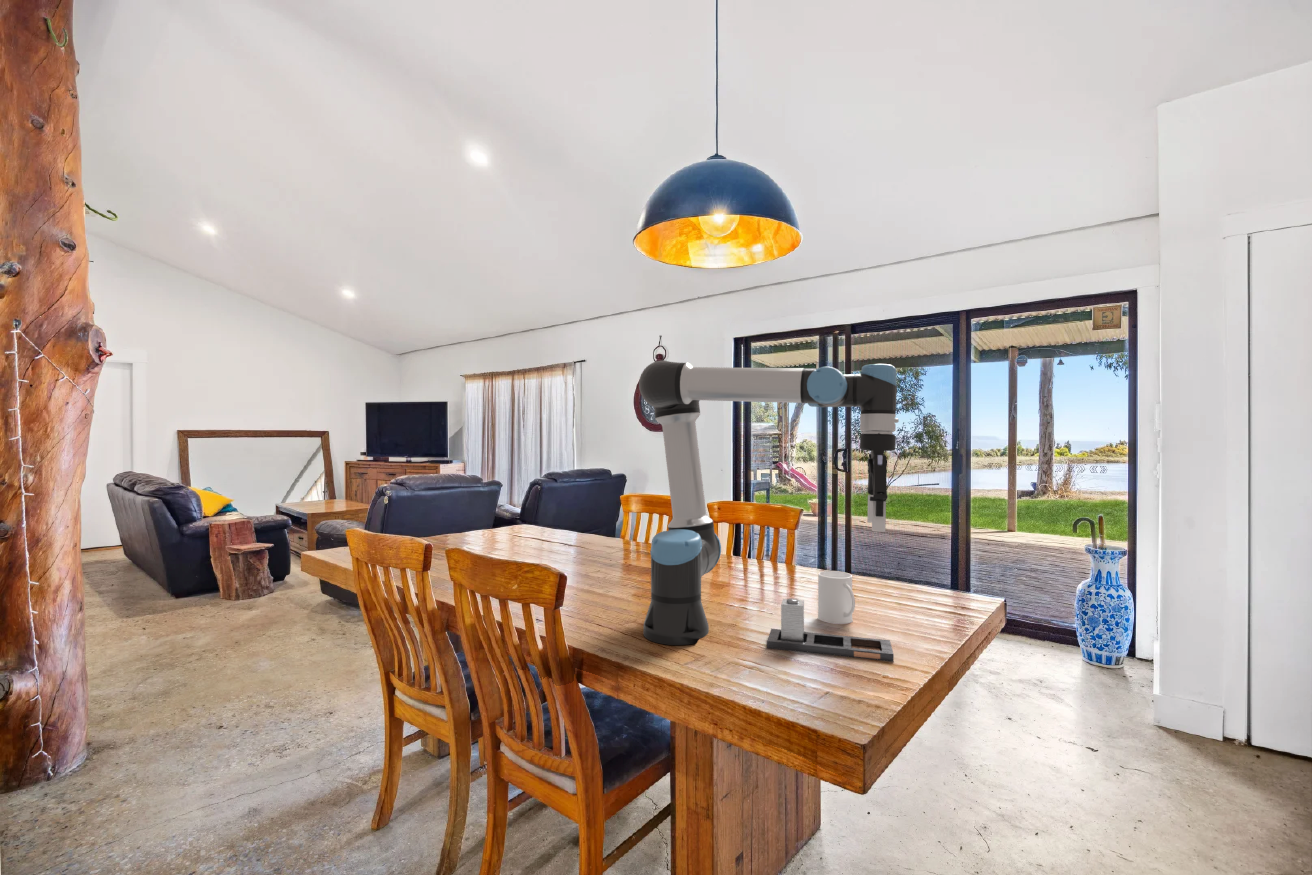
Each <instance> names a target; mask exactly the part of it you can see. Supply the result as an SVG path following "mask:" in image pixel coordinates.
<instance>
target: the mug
mask: <svg viewBox="0 0 1312 875" xmlns="http://www.w3.org/2000/svg"><path fill="white" fill-rule="evenodd" d="M817 574H818V575H817V576H818V578H817V579H818V583H817V587H818V588H817V591H818V592H817V593H818V594H817V596H818V597H817V600H818V601H817V607H818V609H817V620H819V621H821V622H824V623H827V624H831V625H834V624H835V625H848V624H851V623H853V622H854V620H853V613H854V611H855V608H856V598H855V594H854V591H853V575H852V574H851V573H848V572H844V571H841V570H840V571H838V570H824V571H819V572H818V573H817Z"/></svg>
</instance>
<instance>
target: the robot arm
mask: <svg viewBox="0 0 1312 875" xmlns="http://www.w3.org/2000/svg"><path fill="white" fill-rule="evenodd" d="M860 370H861V371H860V373H856V374H843V372H841V371H840V370H839V369H838V368H835V367H832V366H821V367H818V368H817V367H816V368H813V367H812V368H809V367H808V368H804V367H713V366H711V367H707V366H706V367H704V366H703V367H702V366H700V367H699V366H698V367H697V366H693V365H692V364H691V363H690V362H675V361H669V360H668V361H667V360H656V361H654V362H651V363H650V364H648V365H647V366H646V367H645V368H644V369H643V371H642V372H641V374H640V376H639V380H638V388H639V393H640V395H641V397H642V398H643V400H644V401H645V402H646V403H647V404H648V405H650V406H651V407H653V408H654V417H655V418H654V419H655V421H657V422H658V423H659V424H660V425H661V427H662V428H661V429H662V436H663V443H664V453H665V460H666V461H665V462H666V469H667V470H666V471H667V479H668V487H669V488H668V489H669V495H670V504H671V511H672V519H671V521H670V522H669V523H668V525H667V530H664V531H663V530H662V531H659V532H658V533H656V534H655V535H654V536H653V537H652V539H651V545H650V546H651V548H650V603H649V606H648V609H647V612H646V616H645V619H644V622H643V636H644V638H646V639H647V640H648V641H650V642H653V643H657V644H661V645H669V646H686V645H694V644H697V643H698V642H699V640H701V639H702V638H705V637H706V636H707V635H708V634H709V631H710V630H709V629H710V627H709V622H708V619H707V616H706V613H705V609H704V606H703V604H702V603H703V602H702V577H703V576H704V575H706V574H708V573H710V572H711V571H712V570H713V569H715V567H716V566H717V564H718V562H719V561H720V558H721V554H722V543H721V540H720V538H719V537H718V535H717V533H716V532H715V525H714V520H713V519H712V518H711V517H710V516H708V514H707V509H706V508H707V507H706V500H705V499H706V498H705V494H704V493H705V491H704V490H705V489H704V484H703V475H702V468H701V467H702V465H701V458H700V449H699V442H698V433H697V432H698V431H697V426H696V425H697V424H696V422H697V419H699V417H700V416H701V410H700V407H701V406H700V401H709V402H710V401H712V402H713V401H714V402H716V401H717V402H720V401H721V402H747V403H749V402H751V403H752V402H757V403H791V404H795V403H797V404H807V405H808V406H809V407H812V408H813V407H815V408H816V407H817V408H842V407H843V408H847V407H848V408H851V407H852V408H857V407H858V408H860V416H859V417H860V418H859V419H860V420H859V431H860V432H862V433H861V434H860V436H859V449H860V450H861V451H870V453H869V454H868V458H867V466H868V467H867V474H868V477H867V478H868V480H867V488H866V489H867V517H866V518H867V521H866V522H867V523H868V524H869V523H871V532H878V533H886V529H887V528H886V526H887V524H886V519H887V517H886V516H887V514H886V513H887V499H888V491H887V490H888V489H887V488H888V487H887V473H888V471H887V470H888V469H887V468H888V459H887V455H885V453H884V452H893V451H895V450H896V442H897V441H896V437H897V436H896V435H895V434H893V433H894V432H896V426H897V425H896V424H897V423H899V422H900V421H899V418H898V417H897V416H896V413H897V394H898V393H897V390H898V388H897V387H898V384H897V383H898V382H897V381H898V380H897V368H896V367H895V366H894V365H893V364H887V363H873V364H865V365H863V366H861V369H860ZM896 417H897V418H896Z"/></svg>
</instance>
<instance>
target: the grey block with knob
mask: <svg viewBox="0 0 1312 875" xmlns="http://www.w3.org/2000/svg"><path fill="white" fill-rule="evenodd" d="M780 609H781V610H780V616H781V617H780V630H781V640H782V641H791V642H801V643H804V632H805V622H804V621H805V620H804V619H805V600H801V599H797V598H782V601H781V604H780Z"/></svg>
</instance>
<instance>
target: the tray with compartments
mask: <svg viewBox="0 0 1312 875" xmlns="http://www.w3.org/2000/svg"><path fill="white" fill-rule="evenodd" d="M766 648H767V649H770V650H772V649H773V650H781V651H789V652H798V653H799V652H800V653H807V654H808V653H809V654H815V655H816V654H818V655H825V656H826V655H827V656H835V657H837V656H838V657H845V658H853V659H854V658H855V659H863V660H873V661H880V662H888V663H889V662H891V663H893V662H894V651H893V647H892V644H891V640H890V639H880V638H879V639H878V638H869V637H862V636H861V637H860V636H850V635H849V636H848V635H839V634H830V633H820V632H818V633H817V632H809V631H804V643H801V642H791V641H782V640H781V628H779V629H778V628H771V629H770V631H769V635H768V638H767V640H766Z"/></svg>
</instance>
